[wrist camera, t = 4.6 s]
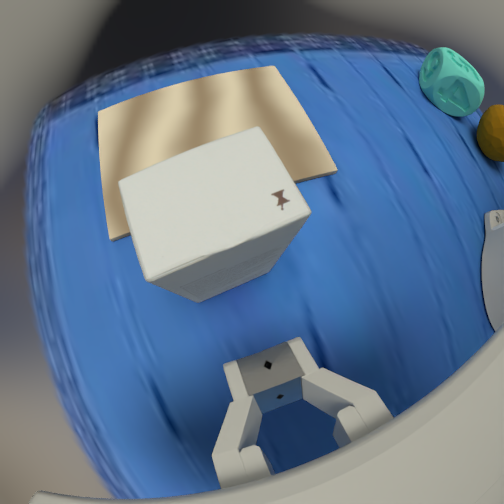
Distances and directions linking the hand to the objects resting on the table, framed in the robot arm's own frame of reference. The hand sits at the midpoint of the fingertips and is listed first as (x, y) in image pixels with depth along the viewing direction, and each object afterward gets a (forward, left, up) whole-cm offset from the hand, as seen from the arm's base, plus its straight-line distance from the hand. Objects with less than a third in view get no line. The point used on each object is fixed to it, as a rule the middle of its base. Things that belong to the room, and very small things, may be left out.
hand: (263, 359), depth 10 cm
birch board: (-2, -18, -10) cm, 21 cm away
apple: (-42, -10, -10) cm, 44 cm away
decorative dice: (-38, -20, -10) cm, 44 cm away
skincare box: (0, -6, -10) cm, 12 cm away
